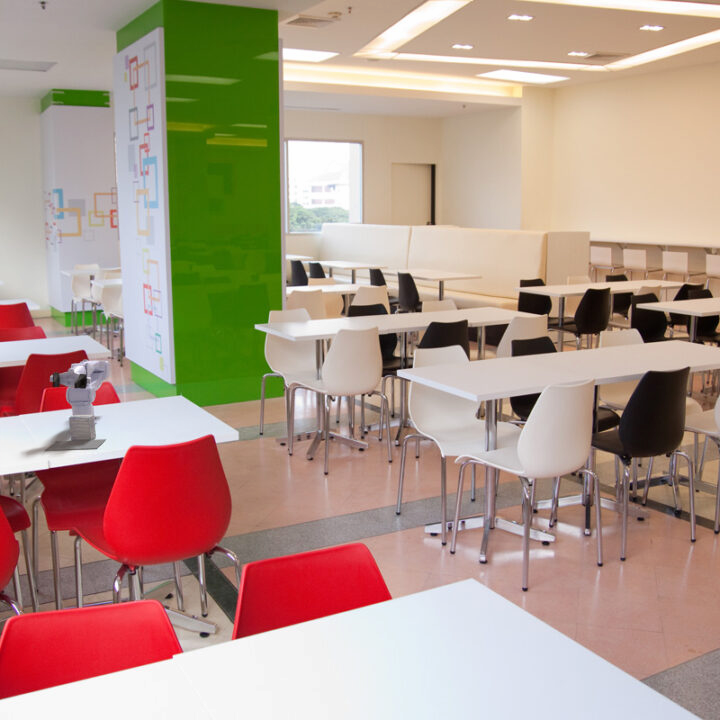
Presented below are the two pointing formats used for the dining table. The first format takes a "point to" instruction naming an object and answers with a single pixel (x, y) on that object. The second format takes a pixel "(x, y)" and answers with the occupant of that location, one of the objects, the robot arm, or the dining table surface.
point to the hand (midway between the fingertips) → (64, 385)
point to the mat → (75, 444)
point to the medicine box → (82, 427)
